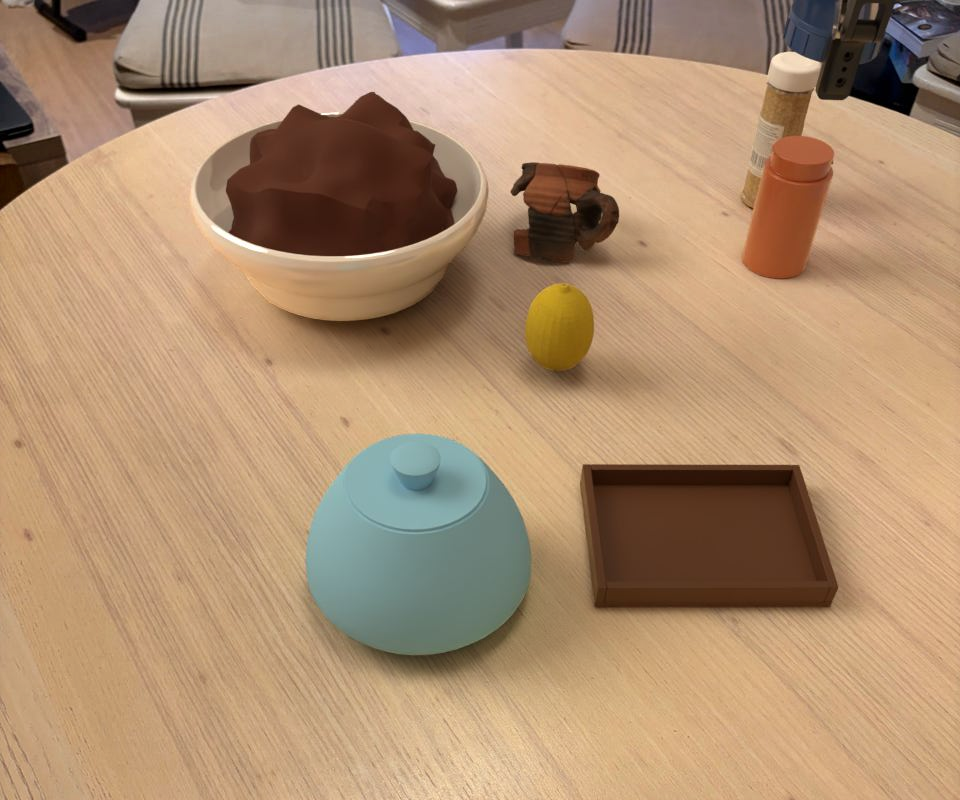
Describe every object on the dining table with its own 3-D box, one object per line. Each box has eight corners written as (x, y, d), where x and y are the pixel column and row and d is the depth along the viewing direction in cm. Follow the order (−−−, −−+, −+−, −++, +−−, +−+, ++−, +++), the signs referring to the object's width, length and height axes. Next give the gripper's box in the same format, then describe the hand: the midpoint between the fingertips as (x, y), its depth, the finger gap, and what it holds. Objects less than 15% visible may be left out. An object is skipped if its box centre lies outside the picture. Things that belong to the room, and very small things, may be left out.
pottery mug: (483, 252, 97) (493, 157, 94) (540, 259, 104) (551, 171, 101) (588, 265, 91) (602, 164, 88) (641, 271, 98) (656, 178, 95)
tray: (792, 484, 77) (799, 464, 76) (830, 606, 70) (839, 587, 68) (579, 484, 77) (582, 463, 75) (594, 607, 69) (598, 587, 68)
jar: (797, 243, 99) (829, 133, 90) (812, 278, 95) (847, 166, 87) (736, 244, 98) (762, 133, 90) (748, 278, 95) (777, 166, 86)
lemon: (601, 371, 85) (613, 286, 79) (556, 399, 83) (565, 313, 77) (553, 342, 88) (561, 257, 82) (508, 368, 85) (513, 283, 79)
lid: (779, 56, 68) (788, 25, 67) (785, 17, 72) (793, -13, 71) (877, 72, 68) (888, 42, 66) (878, 32, 72) (888, 2, 70)
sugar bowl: (570, 617, 69) (588, 490, 59) (369, 706, 64) (355, 582, 55) (462, 483, 76) (463, 353, 67) (275, 552, 72) (250, 422, 63)
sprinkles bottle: (791, 210, 103) (830, 68, 92) (749, 215, 102) (784, 72, 91) (773, 188, 105) (809, 47, 95) (732, 192, 105) (763, 51, 94)
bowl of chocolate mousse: (158, 331, 87) (113, 156, 76) (279, 191, 102) (256, 27, 91) (434, 390, 83) (431, 215, 71) (518, 236, 98) (527, 70, 86)
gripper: (814, -264, 63) (750, 31, 76) (870, -201, 54) (786, 121, 67) (935, -259, 63) (849, 34, 76) (1010, -195, 54) (898, 125, 67)
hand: (820, 74), depth 71 cm, fingers closed on lid, 6 cm apart
